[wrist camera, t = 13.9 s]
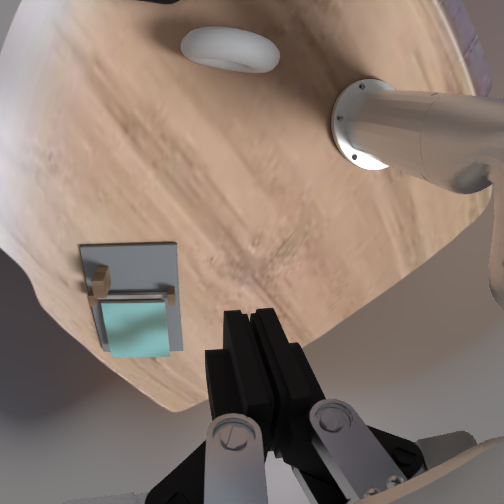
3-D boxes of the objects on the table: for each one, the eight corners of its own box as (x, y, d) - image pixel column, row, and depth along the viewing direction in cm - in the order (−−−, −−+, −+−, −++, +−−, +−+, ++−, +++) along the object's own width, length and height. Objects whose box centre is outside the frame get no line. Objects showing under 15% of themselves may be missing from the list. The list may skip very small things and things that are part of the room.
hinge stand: (175, 295, 43) (175, 313, 39) (94, 296, 40) (87, 314, 37) (173, 262, 41) (173, 279, 37) (87, 264, 38) (79, 281, 34)
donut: (178, 65, 30) (175, 49, 21) (184, 38, 29) (184, 14, 20) (263, 80, 33) (289, 71, 24) (269, 54, 32) (297, 37, 23)
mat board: (183, 348, 47) (183, 350, 47) (104, 348, 45) (103, 351, 44) (176, 242, 40) (176, 244, 39) (81, 245, 37) (80, 247, 36)
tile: (164, 302, 41) (164, 299, 42) (101, 303, 39) (102, 300, 40) (169, 356, 44) (169, 353, 44) (111, 356, 42) (112, 353, 42)
